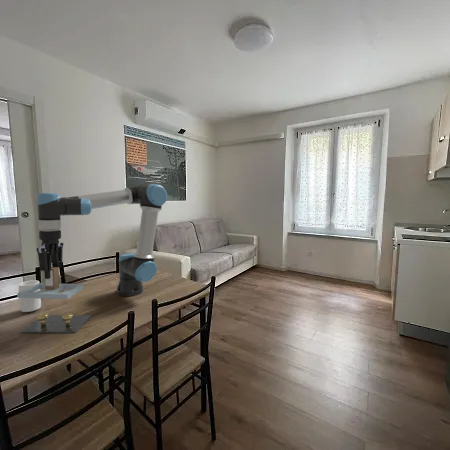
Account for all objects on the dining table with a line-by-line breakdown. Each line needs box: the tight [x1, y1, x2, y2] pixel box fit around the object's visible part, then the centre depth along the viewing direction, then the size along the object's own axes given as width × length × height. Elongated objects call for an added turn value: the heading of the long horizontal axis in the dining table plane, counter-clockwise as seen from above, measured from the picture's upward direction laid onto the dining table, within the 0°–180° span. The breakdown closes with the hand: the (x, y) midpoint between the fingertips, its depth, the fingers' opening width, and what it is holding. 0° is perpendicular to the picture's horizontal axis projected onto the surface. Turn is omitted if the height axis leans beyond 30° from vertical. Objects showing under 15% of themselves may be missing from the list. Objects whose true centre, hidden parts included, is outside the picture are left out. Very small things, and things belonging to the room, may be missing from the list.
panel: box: [16, 266, 85, 300], centre depth 105 cm, size 12×20×11 cm, turn 91°
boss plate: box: [20, 312, 93, 334], centre depth 109 cm, size 22×14×5 cm, turn 92°
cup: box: [18, 279, 42, 313], centre depth 120 cm, size 8×8×14 cm
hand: (52, 283), depth 105 cm, fingers closed on panel, 3 cm apart
